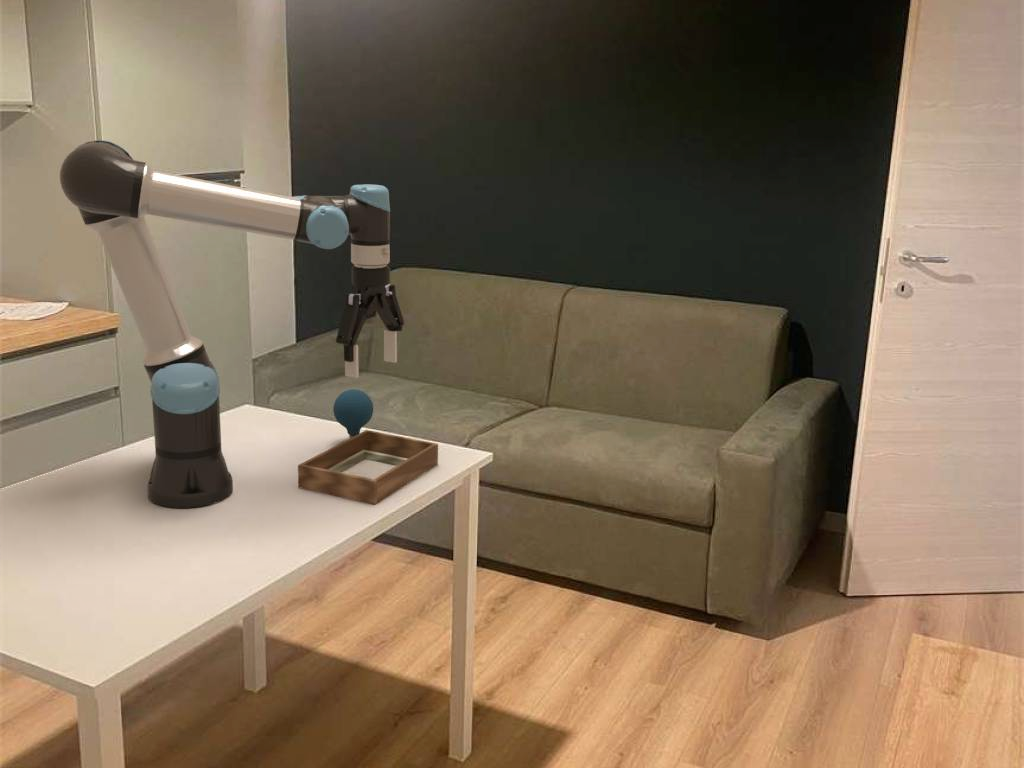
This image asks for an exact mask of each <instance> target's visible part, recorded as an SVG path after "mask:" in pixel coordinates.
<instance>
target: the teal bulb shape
mask: <svg viewBox="0 0 1024 768" xmlns="http://www.w3.org/2000/svg"><path fill="white" fill-rule="evenodd" d="M332 411H333V415H334V418H335V420H336V421H337V423H339V425H341V426H342V427H343V428H345V429H346V431H347V434H348V436H349V437H348V439H350V438H352V437H354V436H356V435H358V434H360V433H361V432H360V431H361V429H362V428H363V427H364V426H366V425H367V424H368V423H369V422H370V420H371V419H372V417H373V415H374V414H373V413H374V404H373V401H372V399H371V397H370V396H369V395H368V394H367V392H364V391H362V390H360V389H357V388H356V389H354V388H353V389H347V390H344V391H343V392H341V393H340V394H339V395H338V396H337V397H336V399H335V400H334V403H333V410H332Z"/></svg>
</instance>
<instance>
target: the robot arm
mask: <svg viewBox="0 0 1024 768" xmlns="http://www.w3.org/2000/svg"><path fill="white" fill-rule="evenodd" d="M59 182H60V183H59V184H60V187H61V190H62V191H63V194H64V195H65V197H66V198H67V199H68V200H69V201H70V202H71V204H72V205H74V206H76V207H77V208H78V212H79V213H80V216H81V218H82V221H83V223H84V225H85V226H86V228H87V227H88V228H89V229H92V230H94V231H96V232H97V234H98V236H99V239H100V240H101V243H102V245H103V248H104V251H105V253H106V255H107V257H108V260H109V263H110V265H111V268H112V270H113V272H114V275H115V277H116V279H117V281H118V285H119V288H120V290H121V292H122V294H123V297H124V299H125V301H126V304H127V306H128V308H129V311H130V313H131V316H132V318H133V321H134V324H135V325H136V327H137V330H138V333H139V335H140V338H141V340H142V342H143V346H144V347H145V349H146V352H145V353H146V354H145V356H144V358H143V360H142V364H143V366H144V369H145V371H146V374H147V376H148V379H149V381H150V383H151V385H150V398H151V400H152V401H151V402H152V415H153V416H152V417H153V420H152V421H153V431H154V432H153V434H154V446H155V449H154V450H155V451H154V452H155V457H154V461H153V465H152V467H151V472H150V475H149V476H150V477H149V479H148V481H147V497H148V499H149V500H150V502H152V503H154V504H156V505H158V506H162V507H168V508H174V509H175V508H177V509H178V508H180V509H181V508H182V509H184V508H185V509H187V508H197V507H198V508H199V507H203V506H210V505H213V504H217V503H219V502H221V501H223V500H225V499H227V498H228V497H230V496H231V495H232V494H233V491H234V484H233V483H234V482H233V481H234V480H233V476H232V474H231V472H230V471H229V470H228V466H227V463H226V459H225V456H224V454H223V451H222V431H221V427H222V426H221V407H220V391H221V384H220V382H219V381H220V379H219V372H218V371H217V369H216V367H215V365H214V364H213V362H212V361H211V360H210V358H209V356H208V352H207V350H206V347H205V345H204V342H203V341H202V339H199V338H197V337H195V336H193V335H192V334H191V332H190V330H189V327H188V324H187V322H186V319H185V317H184V314H183V312H182V309H181V307H180V304H179V301H178V298H177V297H176V293H175V291H174V289H173V286H172V283H171V282H170V279H169V277H168V274H167V272H166V269H165V267H164V264H163V262H162V258H161V256H160V254H159V251H158V248H157V246H156V244H155V242H154V239H153V236H152V234H151V231H150V229H149V226H148V224H147V221H146V218H145V217H146V216H147V215H150V216H156V217H161V218H166V219H173V220H178V221H184V222H189V223H195V224H201V225H206V226H212V227H218V228H225V229H229V230H235V231H240V232H246V233H247V232H248V233H252V234H256V235H257V234H258V235H262V236H263V235H264V236H270V237H275V238H280V239H286V240H291V241H297V242H301V243H306V244H311V245H314V246H316V247H318V248H319V249H324V250H333V249H335V248H338V247H340V246H342V244H343V243H345V242H346V241H347V238H348V236H349V235H350V238H351V239H350V241H351V244H350V263H352V264H353V265H352V267H351V284H352V285H353V286H355V288H356V291H355V293H348V292H347V293H346V294H345V300H344V301H345V303H344V304H345V305H344V309H343V311H342V316H341V319H340V324H339V328H338V331H337V335H336V339H335V341H336V343H337V344H338V345H339V344H340V345H342V346H343V358H344V376H345V377H347V378H353V379H358V378H359V374H360V373H359V371H360V370H359V365H360V364H359V345H358V344H356V343H357V341H358V339H359V336H360V334H361V332H362V329H363V327H364V325H365V322H366V320H367V319H368V317H370V315H371V314H372V313H374V312H376V313H377V315H378V316H379V318H380V320H381V321H382V323H383V324H384V327H385V329H384V330H383V362H389V363H393V364H396V363H397V362H398V332H401V331H403V326H404V325H405V321H404V317H403V315H402V311H401V307H400V305H399V301H398V298H397V294H396V293H397V292H396V286H395V284H391V267H390V265H388V264H390V261H391V260H390V253H391V251H390V248H391V247H390V240H391V239H390V237H391V236H390V235H391V208H390V207H391V206H390V205H391V204H390V192H389V189H388V188H387V187H386V186H384V185H382V184H381V185H379V184H368V183H366V184H365V183H364V184H354V185H352V186H351V187H350V192H349V195H348V194H347V195H307V194H305V195H295V196H287V195H282V194H277V193H273V192H272V193H271V192H267V191H263V190H259V189H258V190H256V189H252V188H246V187H241V186H236V185H231V184H226V183H222V182H215V181H212V180H211V181H210V180H205V179H202V178H201V179H200V178H194V177H191V176H185V175H179V174H175V173H170V172H164V171H159V170H154V169H153V168H152V166H151V165H150V164H149V162H144V161H139V160H134V159H133V157H132V156H131V155H130V153H129V152H128V151H126V149H125V148H124V147H122V146H120V145H119V144H117V143H115V142H112V141H110V140H109V141H108V140H104V139H103V140H102V139H96V140H91V141H90V140H89V141H86V142H85V143H81V144H79V145H78V146H77V147H75V148H74V150H73V151H71V152H70V153H68V155H67V156H66V157H65V158H64V160H63V162H62V164H61V167H60V171H59Z"/></svg>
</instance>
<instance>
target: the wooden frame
mask: <svg viewBox="0 0 1024 768" xmlns="http://www.w3.org/2000/svg"><path fill="white" fill-rule="evenodd" d="M364 460H368V461H374V462H380V463H384V464H389V465H393V467H392V468H391V469H389V470H387V471H386V472H384V473H382V474H380V475H379V476H377V477H375V478H370V477H366V476H361V475H356V474H353V473H352V474H351V473H347V472H344V471H346V470H348V469H349V468H351V467H354V465H356V464H359V463H360V462H362V461H364ZM438 464H439V443H436V442H431V441H426V440H422V439H421V440H420V439H415V438H411V437H410V438H409V437H404V436H400V435H394V434H389V433H384V432H378V431H373V430H368V429H365V430H363V431H362V432H360V433H359V434H358V435H356V436H354V437H352V438H350V439H349V438H348V439H346V440H344V441H342V442H341V443H338V444H336V445H335V446H333V447H330V448H328V449H327V450H325V451H323V452H320V453H319V454H317V455H315V456H313V457H312V458H309V459H307V460H305V461H304V462H301V463H299V464H298V465H297V479H298V481H297V483H298V484H297V485H298V488H299V489H303V490H308V491H313V492H316V493H322V494H326V495H331V496H334V497H335V496H336V497H339V498H344V499H348V500H353V501H357V502H362V503H366V504H371V505H377V504H378V503H379V502H381V501H383V500H384V499H386V498H387V497H389V496H391V495H392V494H394V493H396V492H397V491H399V490H400V489H402V488H403V487H405V486H406V485H408V484H410V483H411V482H413V481H414V480H416V479H418V478H419V477H421V476H422V475H424V474H425V473H427V472H429V471H430V470H432V469H433V468H435V467H436V466H438ZM434 466H435V467H434ZM431 468H432V469H431ZM426 471H427V472H426ZM424 472H425V473H424ZM423 473H424V474H423ZM420 475H421V476H420ZM418 476H419V477H418ZM415 478H416V479H415ZM412 480H413V481H412ZM410 481H411V482H410ZM409 482H410V483H409ZM407 483H408V484H407ZM404 485H405V486H404ZM401 487H402V488H401ZM398 489H399V490H398ZM396 490H397V491H396Z"/></svg>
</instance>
